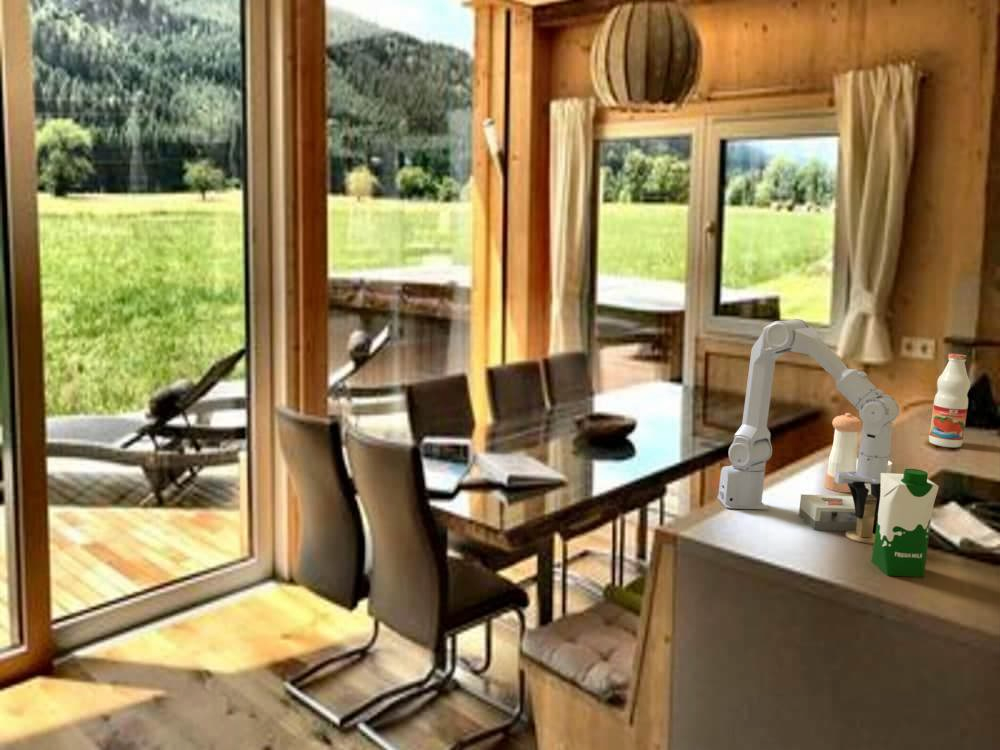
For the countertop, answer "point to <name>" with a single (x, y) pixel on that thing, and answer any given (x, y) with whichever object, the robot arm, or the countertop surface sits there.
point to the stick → (867, 518)
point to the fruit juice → (950, 404)
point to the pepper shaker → (843, 450)
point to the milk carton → (904, 523)
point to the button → (834, 504)
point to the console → (828, 512)
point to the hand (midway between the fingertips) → (865, 517)
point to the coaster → (857, 538)
